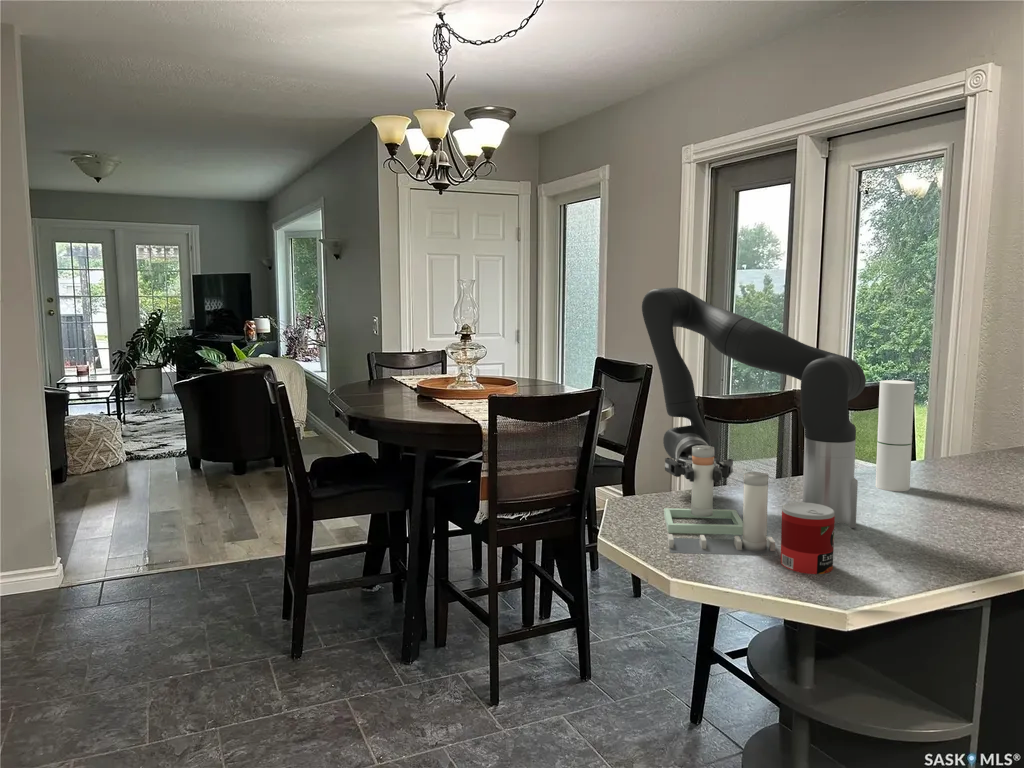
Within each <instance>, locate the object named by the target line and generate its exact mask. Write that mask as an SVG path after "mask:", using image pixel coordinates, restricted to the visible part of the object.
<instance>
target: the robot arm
mask: <svg viewBox="0 0 1024 768" xmlns="http://www.w3.org/2000/svg"><path fill="white" fill-rule="evenodd" d="M641 302H642V303H641V313H642V318H643V321H644V325H645V328H646V331H647V333H648V338H649V341H650V344H651V346H652V350H653V352H654V353H653V354H654V355H655V359H656V362H657V366H658V369H659V370H658V371H659V373H660V379H661V383H662V389H663V396H664V402H665V409H666V413H667V415H668V416H669V417H673V418H684V419H688V420H689V421H690V422H691V425H682V426H677V427H676V426H675V427H671V428H669V429H667V430H666V431H665V432H664V434H663V439H662V444H663V448H664V449H665V452H666V454H667V455H668V456H669V457H665V458H664V471H665V472H667V473H669V474H670V475H672V476H674V477H675V478H680V477H681V475H683V478H685V479H686V480H688V481H689V482H690V483H692V482H694V470H693V468H692V447H693V446H698V445H705V446H711V445H712V443H711V442H712V441H711V437H710V434H709V432H708V430H707V428H706V426H705V424H704V422H703V420H702V417H701V414H700V412H699V409H698V404H697V400H696V399H697V398H696V392H695V385H694V381H693V377H692V373H691V372H690V370H689V367H688V366H687V364H686V361H684V359H683V357H682V355H681V353H680V352H679V350H678V346H677V344H676V341H675V335H674V327H678V328H681V329H686V330H690V331H692V332H695V333H697V334H699V335H701V336H703V337H705V339H707V340H708V341H709V342H710V344H711V345H712V346H713V347H714V349H716V350H717V351H718V352H719V353H720V354H722V355H724V356H726V357H728V358H730V359H731V360H734V361H736V362H739V363H741V364H744V365H746V366H748V367H752V368H754V369H755V368H756V369H759V370H763V371H767V372H772V373H777V374H780V375H781V374H782V375H786V376H789V377H791V378H795V379H797V380H799V381H800V419H801V420H800V421H801V424H802V426H803V430H804V447H803V448H804V449H803V451H804V452H803V477H802V479H803V480H802V481H803V482H802V483H803V485H802V502H806V503H815V504H820V505H824V506H827V507H829V508H831V509H833V510H834V514H835V524H846V525H847V526H848V527H849V528H850V529H856V528H857V510H858V509H857V508H858V486H859V485H858V484H859V483H858V479H857V478H855V468H856V467H855V466H856V464H855V463H856V439H857V428H856V425H855V424H854V423H852V422H851V421H850V418H849V401H852V400H853V399H855V398H857V397H858V396H860V395H861V393H863V391H864V389H865V387H866V383H867V380H866V375H865V372H864V370H863V368H862V367H861V366H860V365H859V364H858V362H856V361H855V360H854V359H852V358H850V357H847V356H845V355H841V354H839V353H838V354H837V353H834V352H831V351H828V350H823V349H820V348H818V347H814V346H811V345H808V344H806V343H804V342H801V341H799V340H797V339H795V338H793V337H791V336H789V335H787V334H785V333H782V332H780V331H778V330H776V329H773V328H771V327H769V326H768V325H765V324H763V323H760V322H757V321H755V320H753V319H750V318H748V317H745V316H742V315H740V314H737V313H735V312H733V311H729V310H727V309H724V308H721V307H717V306H715V305H713V304H711V303H708V302H707V301H704V300H703V299H701V298H700V297H698V296H696V295H694V294H692V293H691V292H689V291H687V290H686V289H683V288H679V287H662V288H654V289H651V290H649V291H648V292H647V293H645V295H644V297H643V299H642V301H641ZM733 471H734V460H733V459H732V458H728V459H726V460H725V459H724V460H723V461H720V459H719V458H716V455H715V454H714V471H713V483H719V482H720V481H721V480H722V479H729V477H730V476H731V475H732V474H733Z"/></svg>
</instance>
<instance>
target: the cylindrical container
mask: <svg viewBox="0 0 1024 768" xmlns="http://www.w3.org/2000/svg"><path fill="white" fill-rule="evenodd" d="M914 402H915V381H911V380H902V379H901V380H900V379H899V380H897V379H896V380H895V379H890V380H889V379H886V380H879V396H878V420H877V443H876V467H875V469H876V470H875V487H876V488H877V489H879V490H882V491H889V492H908V491H910V487H911V472H912V471H911V467H912V465H911V464H912V448H913V444H912V443H913V425H914V424H913V423H914V422H913V421H914Z"/></svg>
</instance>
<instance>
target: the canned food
mask: <svg viewBox="0 0 1024 768" xmlns="http://www.w3.org/2000/svg"><path fill="white" fill-rule="evenodd" d="M781 507H782V509H781V533H780V534H781V535H780V537H781V538H780V564H781V566H783V567H784V568H785V569H788V570H790V571H793V572H797V573H801V574H808V575H824V574H827V573H831V572H832V571H833V569H834V551H835V550H834V548H835V546H834V544H835V542H834V541H835V514H834V510H833V509H831V508H829V507H827V506H824V505H820V504H815V503H806V502H803V501H800V502H798V501H795V502H794V501H793V502H789V503H784V504H783V505H782V506H781Z"/></svg>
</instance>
